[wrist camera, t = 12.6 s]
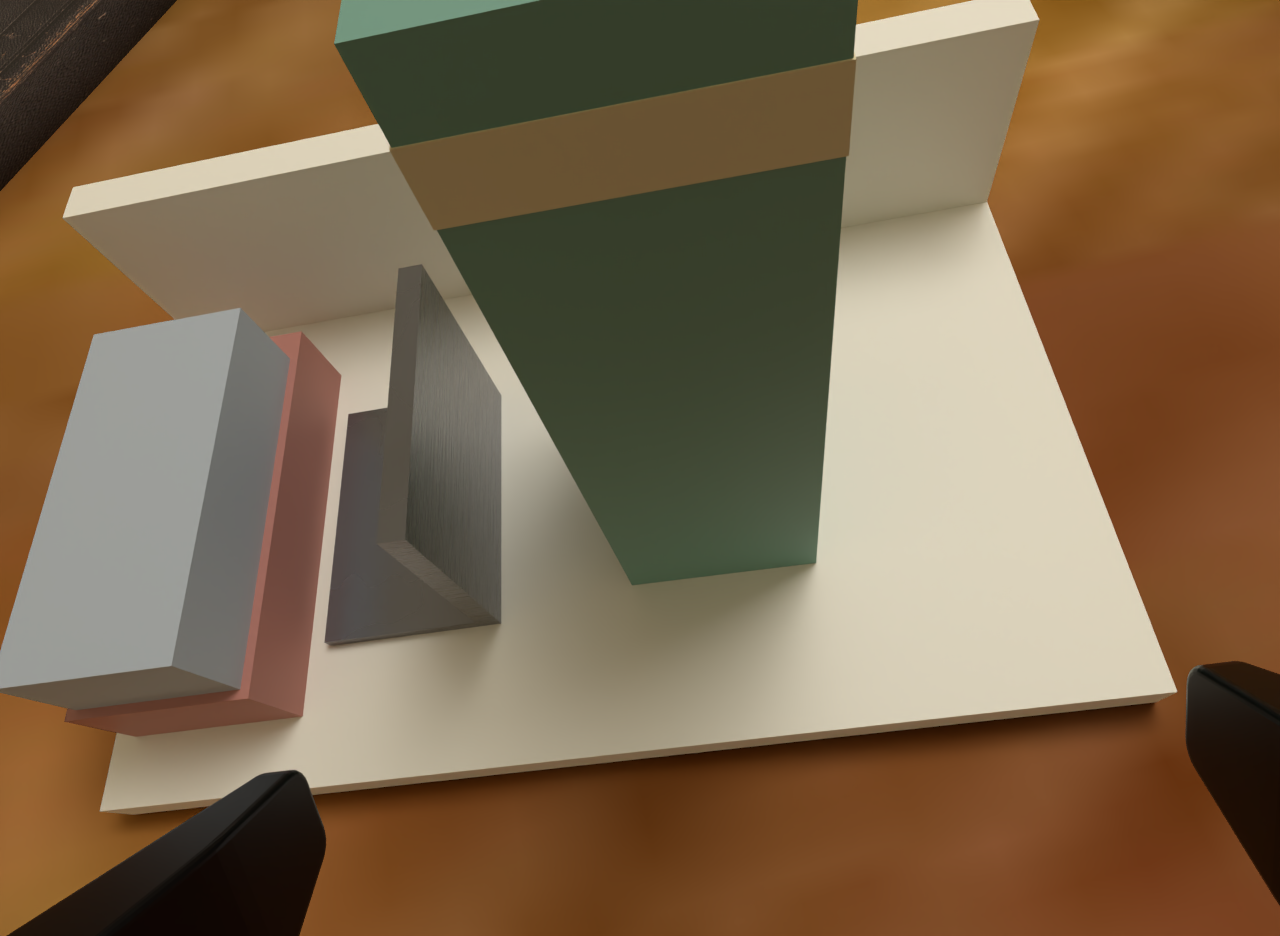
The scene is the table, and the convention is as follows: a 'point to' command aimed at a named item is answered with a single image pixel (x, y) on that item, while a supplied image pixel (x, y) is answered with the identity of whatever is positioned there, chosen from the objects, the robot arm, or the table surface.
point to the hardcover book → (59, 63)
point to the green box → (641, 241)
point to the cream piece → (550, 488)
